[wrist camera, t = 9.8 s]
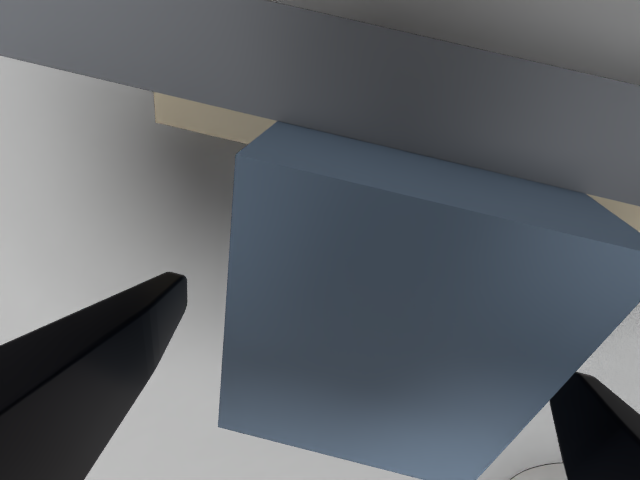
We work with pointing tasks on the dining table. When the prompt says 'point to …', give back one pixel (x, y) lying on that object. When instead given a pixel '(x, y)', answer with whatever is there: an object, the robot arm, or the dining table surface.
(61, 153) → the dining table surface
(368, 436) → the blue block
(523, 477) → the cylindrical container
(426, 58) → the wall board
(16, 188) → the dining table surface
